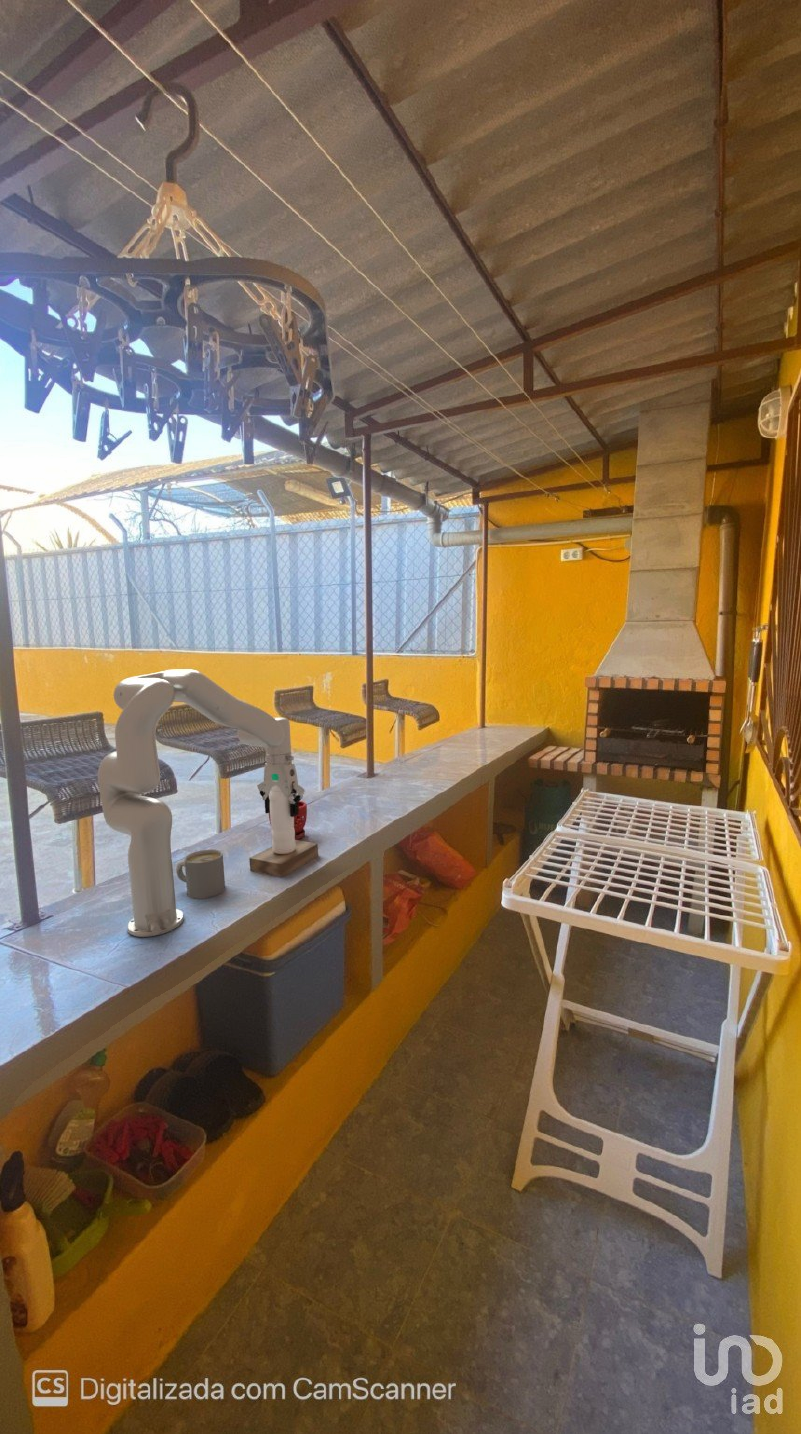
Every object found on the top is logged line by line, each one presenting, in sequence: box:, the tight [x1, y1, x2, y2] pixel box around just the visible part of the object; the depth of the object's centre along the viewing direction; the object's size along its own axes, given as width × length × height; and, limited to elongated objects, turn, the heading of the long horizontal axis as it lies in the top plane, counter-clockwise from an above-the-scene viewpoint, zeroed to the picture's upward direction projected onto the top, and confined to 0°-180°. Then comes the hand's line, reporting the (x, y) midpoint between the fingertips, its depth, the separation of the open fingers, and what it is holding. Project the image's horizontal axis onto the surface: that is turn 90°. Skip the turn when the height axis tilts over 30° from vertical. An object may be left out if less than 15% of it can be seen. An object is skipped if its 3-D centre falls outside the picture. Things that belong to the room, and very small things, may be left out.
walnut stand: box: [248, 839, 319, 878], centre depth 173 cm, size 12×18×4 cm, turn 153°
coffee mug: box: [176, 849, 226, 899], centre depth 155 cm, size 13×10×10 cm
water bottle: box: [269, 774, 296, 854], centre depth 170 cm, size 7×7×25 cm
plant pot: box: [268, 800, 308, 840], centre depth 196 cm, size 13×13×12 cm
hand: (281, 813), depth 171 cm, fingers open, 9 cm apart
